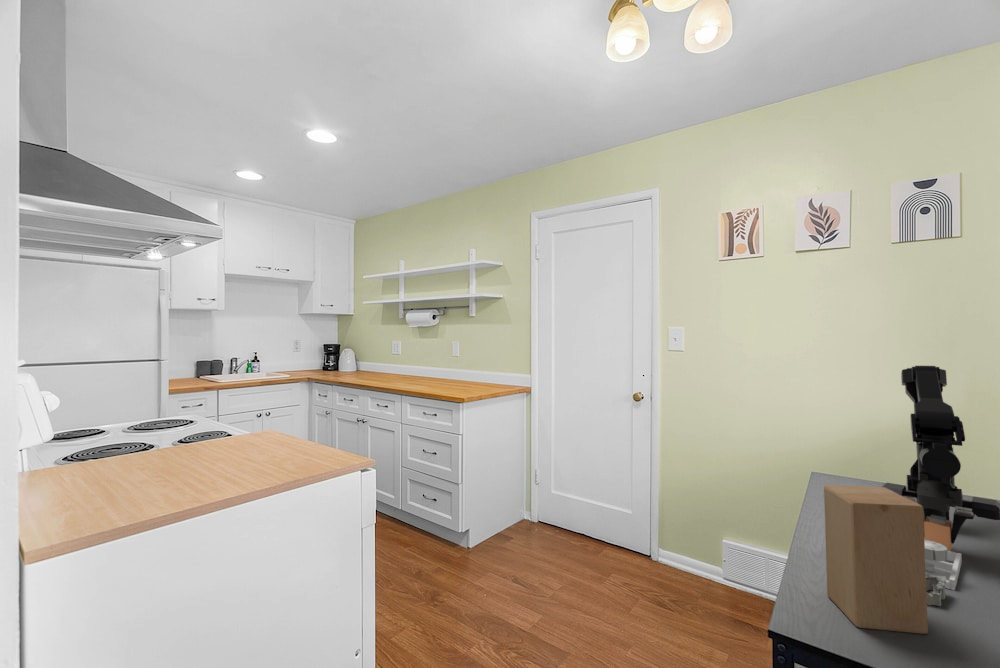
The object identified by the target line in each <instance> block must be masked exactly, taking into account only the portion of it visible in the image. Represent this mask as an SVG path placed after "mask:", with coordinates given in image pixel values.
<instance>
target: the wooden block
mask: <svg viewBox="0 0 1000 668" xmlns="http://www.w3.org/2000/svg"><path fill="white" fill-rule="evenodd" d="M823 493H824V494H823V496H824V497H823V498H824V499H823V501H824V526H825V527H824V529H825V530H824V531H825V561H826V563H825V564H826V566H825V567H826V589H827V590H826V592H827V596H828V598H829V599H830V600H831V601H832V603H834V604H835V605H836V607H838V608H839V610H840V611H841V612H842V613H843V614H844V615H845V616H846V617H847V618H848V620H850V621H851V623H852V624H854V626H855V627H857V628H860V629H871V630H879V631H880V630H881V631H890V632H891V631H892V632H901V633H910V634H911V633H912V634H923V635H927V634H928V633H929V628H928V626H929V625H928V605H927V594H926V593H927V591H926V568H925V542H924V540H925V537H924V515H923V507H922V505H920V504H918V503H916V502H914V501H912V500H909V499H907V498H905V497H903V496H901V495H899V494H897V493H895V492H893V491H891V490H889V489H887V488H885V487H882V486H865V485H864V486H860V485H859V486H858V485H834V484H826V485H824V486H823Z"/></svg>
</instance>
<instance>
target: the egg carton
mask: <svg viewBox="0 0 1000 668" xmlns="http://www.w3.org/2000/svg"><path fill="white" fill-rule="evenodd" d="M944 583H945V584H946V577H945V576H935V575H929V574H927V573H926V590H933V591H929V593H928V592H926V594H927V606H939V607H941V606H942V600H945V599H946V588H945V585H944Z"/></svg>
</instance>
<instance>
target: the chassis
mask: <svg viewBox="0 0 1000 668" xmlns="http://www.w3.org/2000/svg"><path fill="white" fill-rule="evenodd" d="M962 558H963V557H962V553H960V552H955V551H952V550H951V551H948V559H947V561H935V560H933V561H932V560H927V559H925V568H926V573H927V574H929V575H935V576H945V577H946V584H945V583H944V585H945V589H949V590H952V591H956V587H957V584H958V579H959V576H960V571H961V567H962V562H963V561H962ZM948 561H949V562H948ZM951 562H952V563H951Z"/></svg>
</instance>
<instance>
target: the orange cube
mask: <svg viewBox="0 0 1000 668" xmlns="http://www.w3.org/2000/svg"><path fill="white" fill-rule="evenodd" d="M949 520H950V519H949ZM949 520H946V517H941V516H935V515H931V516H930V517H928V516H927V517H926V519H925V521H924V533H925V537H924V540H928V541H933V542H936V543H939V544H942V545H944V546H946V547H947V551H952V548H953V543H951V532H952V525H953V520H950V521H949Z"/></svg>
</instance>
